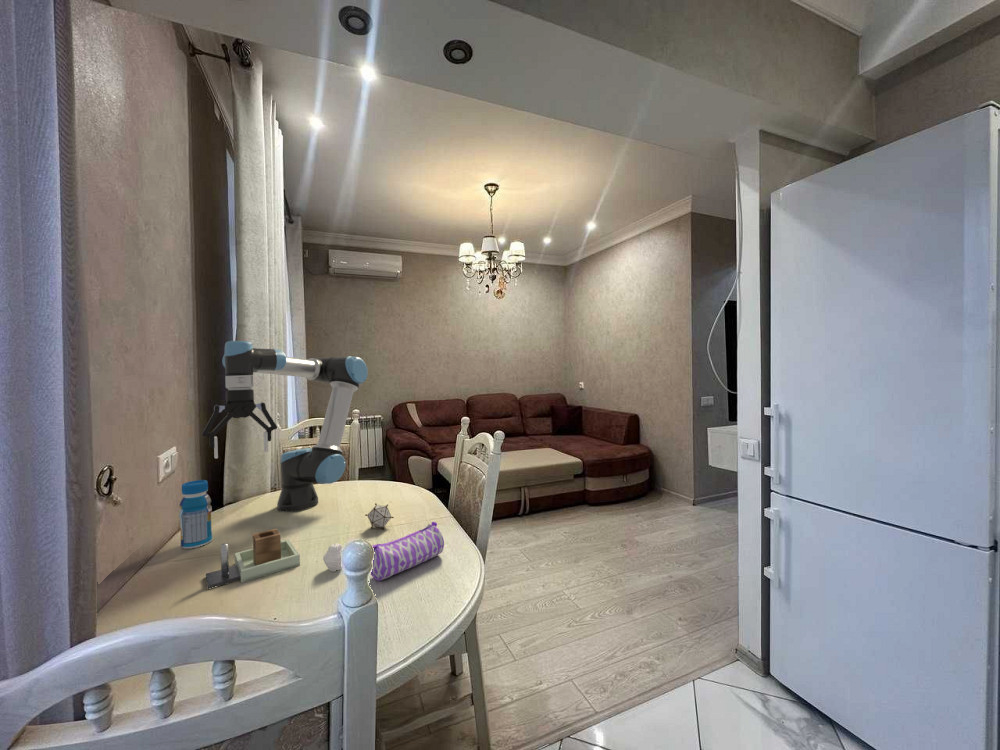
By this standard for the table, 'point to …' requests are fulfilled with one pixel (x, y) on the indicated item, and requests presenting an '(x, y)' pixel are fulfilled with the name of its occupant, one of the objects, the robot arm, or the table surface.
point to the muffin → (333, 557)
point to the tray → (252, 572)
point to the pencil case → (406, 552)
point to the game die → (379, 516)
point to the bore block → (266, 546)
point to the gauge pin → (223, 571)
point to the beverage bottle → (195, 515)
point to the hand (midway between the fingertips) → (241, 454)
